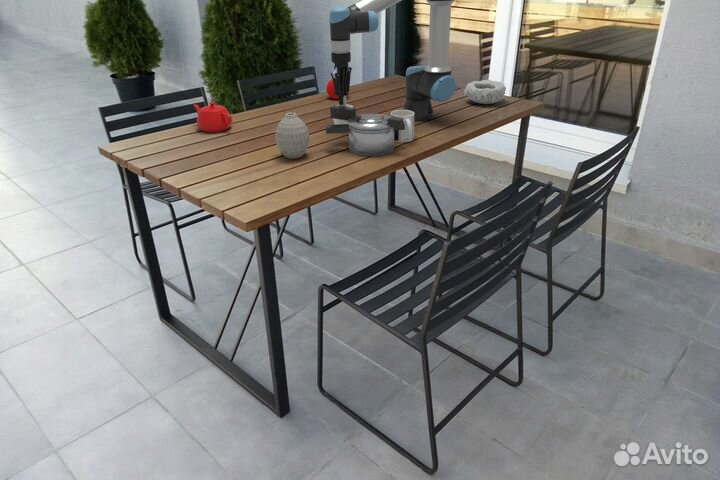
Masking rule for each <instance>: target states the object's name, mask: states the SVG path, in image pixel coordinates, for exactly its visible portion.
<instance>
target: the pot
mask: <svg viewBox="0 0 720 480" xmlns="http://www.w3.org/2000/svg"><path fill="white" fill-rule="evenodd" d="M394 130H405V123H404V122H403V127H401V128H393V127H391V128H388V129H384V130H376V131H365V130H357V129H353V128H351V127H349V126H348V124H337V125H335V124H325V134H327V135H329V134H330V135H331V134H348V149H349V152H350V153H352V154H353V155H357V156H363V157H379V156H380V157H381V156H385V155H388V154H390V153H392V152H394V150H395V142H394Z"/></svg>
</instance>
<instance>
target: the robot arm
mask: <svg viewBox="0 0 720 480" xmlns="http://www.w3.org/2000/svg"><path fill="white" fill-rule="evenodd" d="M402 1H403V0H359V1H358V2H355V3H354V4H351V5H349V6H346V7H344V6H343V7H332V8H331V9H329V20H328V22H329V32H330V51H331V53H330V57H331V60H330V61H331V62H332V63H333V64H334V66H333V69H334V70H333V72H331V73H330V76H331V80H332V79H333V85H334V91H335V95H336V96H338V97H339V99H338V105H339V106H344V107H347V106H346V104H347V96H349V95H350V86H351V73H352V69H353V67H352V66H349V63H350V62H351V60H352V57H351V56H352V55H351V48H352V47H351V35H354V34H364V33H372V32H375V31H377V29H378V27H379V16H378V14H379V13H381V12H383V11H385V10H387V9H388V8H391V7H392V6H394V5H396V4H398V3H400V2H402ZM426 2H427V4H429V25H428V26H429V27H428V31H429V32H428V57H427V58H428V59H427V65H413V66H409V67H407V69H406V71H405V100H404V104H403V107H402V109H401V110H410V111H413V112H414V122H415V121H417V122H419V121H428V120H430V119H433V118H434V115H435V114H434V113H435V111H434V108H433V104H432V101H434V102H439V103H444V102H447V101H448V100H449V99H451V97H452V96H453V95H454V93H455V91H456V87H457V83H456V80H455V78H454V76H452V68H451V67H450V66H449V54H450V53H449V51H450V35H451V34H450V33H451V17H452V15H451V14H452V13H451V12H452V5H453V4H454V2H456V0H426ZM347 93H348V94H347ZM346 95H347V96H346Z"/></svg>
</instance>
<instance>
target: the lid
mask: <svg viewBox="0 0 720 480" xmlns="http://www.w3.org/2000/svg"><path fill="white" fill-rule="evenodd" d="M337 105H338V104H335V105H331V106H330V107H329V108H330V119H340V120H346V121H347V124H348V126H349V127H351V128H353V129H357V130H365V131H376V130H384V129H388V128H391V127H393V128H401V127H403V118H395V117H391V115H387V114H383V113H382V114H381V113H362V114H357V112H356V111H357V110H356V109H357V108H356V107H353V108H351V107H344V106H337Z"/></svg>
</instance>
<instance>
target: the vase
mask: <svg viewBox="0 0 720 480" xmlns="http://www.w3.org/2000/svg"><path fill="white" fill-rule="evenodd" d="M309 133H310V132H309V129H308V127H307V125H306V123H305V122H304V121H303V120H302V119H301V118H300V117H299V116H298V115H297V113H296V112H287V113H285V114H284V117H283V118H282V119H281V120H280V121H279V122H278V125H277V127H276V130H275V143H276V145H277V148H278V150H279V151H280V153H281V154H282V155H283V156H284V157H286V158H288V159H291V160H292V159H293V160H295V159H299V158H302V157H303V156H304V155H305V153H306V151H307V150H308V147H309V144H310V134H309Z"/></svg>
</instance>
